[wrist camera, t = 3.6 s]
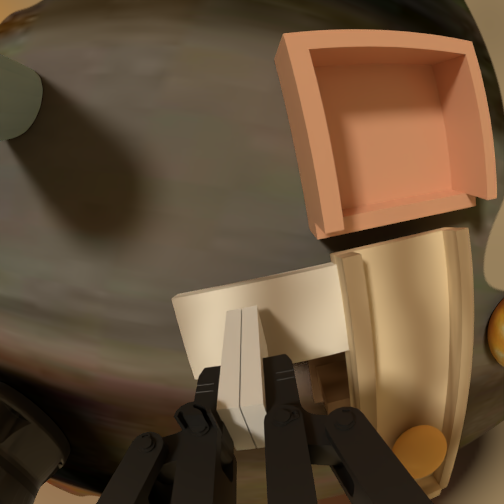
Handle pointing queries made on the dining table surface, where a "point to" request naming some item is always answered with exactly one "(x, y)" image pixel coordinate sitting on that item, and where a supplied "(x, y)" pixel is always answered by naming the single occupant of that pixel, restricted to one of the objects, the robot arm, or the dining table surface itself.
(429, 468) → the ball
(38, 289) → the dining table surface
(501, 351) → the fruit
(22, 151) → the dining table surface
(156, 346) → the dining table surface
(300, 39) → the dish
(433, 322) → the lever
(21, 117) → the cup
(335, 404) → the fulcrum
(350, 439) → the robot arm
